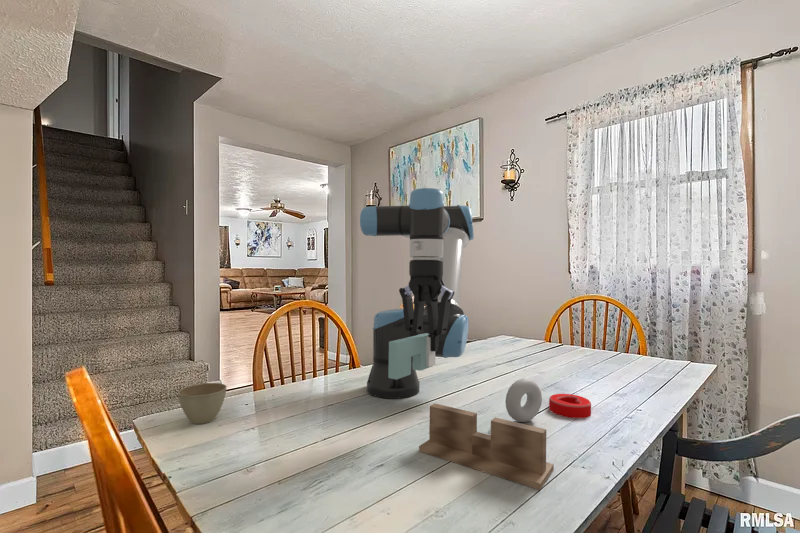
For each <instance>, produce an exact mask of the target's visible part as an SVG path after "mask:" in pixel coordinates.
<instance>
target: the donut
mask: <svg viewBox="0 0 800 533" xmlns="http://www.w3.org/2000/svg"><path fill="white" fill-rule="evenodd" d="M524 395H526V401H525V403H524V405H522V404H521V402H522V398H523V396H524ZM542 402H543V396H542V390H541V388H540V386H539V385H538V384H537V383H536V382H535V381H534V380H532V379H531V378H525V377H524V378H521V379H517V380H515V381H514V382H513V383H512V384H511V385H510V386H509V388H508V390H507V392H506V396H505V408H506V412H507V413H508V416H509V417H511V419H512V420H514V421H515V422H517V423H527V422H530V421H532V420H533V419H534V418H535V417H536V416H537V414H538V413H539V412H540V409H541V407H542Z"/></svg>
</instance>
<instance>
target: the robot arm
mask: <svg viewBox="0 0 800 533" xmlns="http://www.w3.org/2000/svg"><path fill="white" fill-rule="evenodd" d="M409 197H410V198H409V204H408V205H379V206H378V205H377V206H376V205H373V206H372V205H371V206H364V207H363V208H362V209H361V211H360V214H359V215H360V216H359V226H360V227H359V228H360V230H361V232H362V234H363V235H365V236H367V237H368V236H369V237H372V236H373V237H389V236H390V237H391V236H392V237H394V236H397V237H398V236H401V237H402V236H403V237H405V238H407V239H409V257H410V258H411V259H410V261H409V263H408V264H409V270H408V273H409V274H408V275H409V277H410V278H409V281H408V285H406V286H404V287H400V288H399V289H398V291H399V294H400V296H401V300H402V308H394V309H388V310H382V311H379V312H377V313H376V314H374V317H373V327H372V331H373V334H372V335H373V336H372V338H373V340H372V341H373V342H372V344H373V346H372V348H373V350H372V358H373V360H372V366H371V369H370V372H369V375H368V378H367V381H366V392H367V393H368V394H369V395H372V396H374V397H378V398H384V399H403V398H409V397H413V396H415V395H417V394H418V393H420V380H419V378H418V377H419V376H418V373H417V370H414V369H413V356H411V374H410V375H408V376H405V377H402V378H399V379H397V380H396V379H391V378H388V371H389V342H390V341H394V340H399V339H403V338H407V337H412V336H416V335H420V334H425V333H427V334H429V335H428V337H426V367H429V368H431V367H430V366H432V367H433V366H435V365H436V357H437V358H444V359H448V358H460V357H461V356H462V355H463V354H464V353H465V349H466V346H467V342H468V336H469V324H470V323H469V322H470V320H469V317H468V316H467V315H465V311H464V309H463V308H462V307H461V305H460V301H461V299H460V298H461V286H462V273H463V272H462V271H463V261H464V260H463V258H464V249H465V248H467V246H468V245H469V241H472V240H474V226H473V214H472V209H471V207H470V206H468V205H459V204H456V205H445V201H444V192H443V191H442V190H441V189H440V188H432V187H424V188H415V189H413V190H412V191H411V192H410V196H409Z"/></svg>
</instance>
